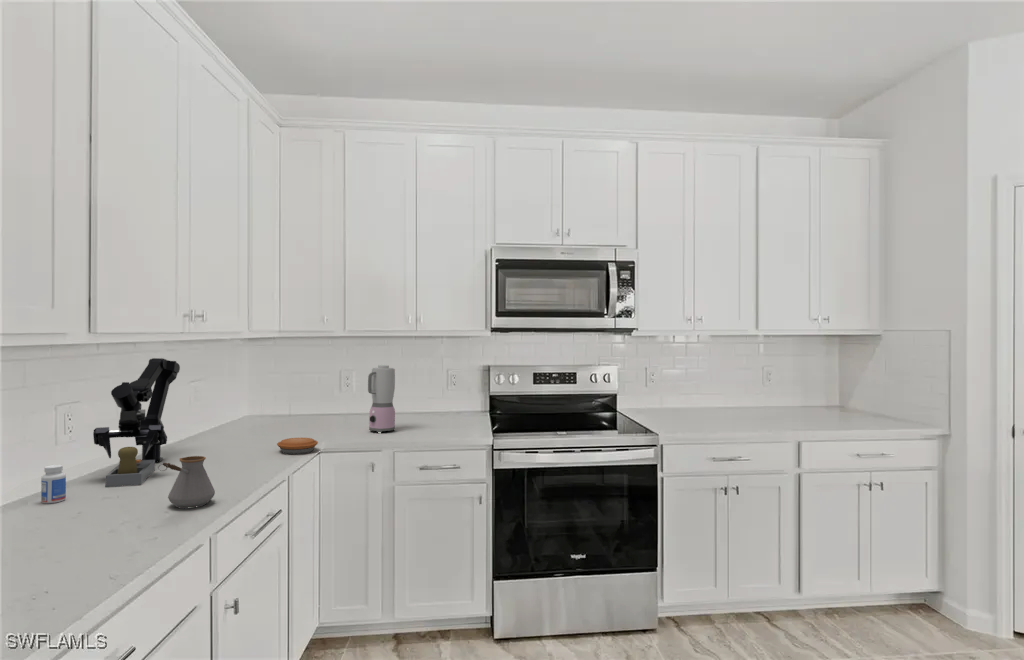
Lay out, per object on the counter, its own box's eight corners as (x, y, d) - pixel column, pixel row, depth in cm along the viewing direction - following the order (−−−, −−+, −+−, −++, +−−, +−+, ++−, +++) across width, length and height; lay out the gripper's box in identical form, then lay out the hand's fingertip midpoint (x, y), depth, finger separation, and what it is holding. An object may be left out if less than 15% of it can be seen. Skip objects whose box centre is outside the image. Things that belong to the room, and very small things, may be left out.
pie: (276, 456, 226) (277, 443, 226) (276, 448, 240) (277, 436, 240) (318, 454, 231) (319, 442, 231) (316, 447, 246) (316, 435, 246)
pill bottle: (68, 497, 167) (69, 463, 167) (61, 503, 162) (62, 467, 162) (45, 499, 165) (46, 464, 165) (37, 504, 160) (38, 468, 160)
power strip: (122, 471, 198) (122, 459, 198) (154, 469, 201) (154, 457, 201) (105, 487, 179) (105, 473, 179) (141, 484, 182) (141, 471, 182)
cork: (134, 478, 189) (135, 444, 189) (141, 482, 185) (142, 447, 185) (112, 482, 184) (113, 447, 184) (119, 485, 180) (120, 450, 181)
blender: (382, 428, 294) (384, 364, 294) (400, 431, 287) (401, 365, 287) (358, 432, 281) (359, 365, 281) (376, 435, 274) (377, 367, 274)
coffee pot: (181, 498, 169) (182, 446, 169) (221, 498, 170) (223, 446, 170) (137, 522, 148) (138, 463, 148) (184, 523, 148) (185, 463, 148)
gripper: (94, 402, 185) (89, 443, 175) (163, 400, 194) (162, 439, 185) (96, 423, 192) (91, 464, 182) (163, 420, 201) (162, 459, 192)
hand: (127, 456), depth 185 cm, fingers open, 9 cm apart
